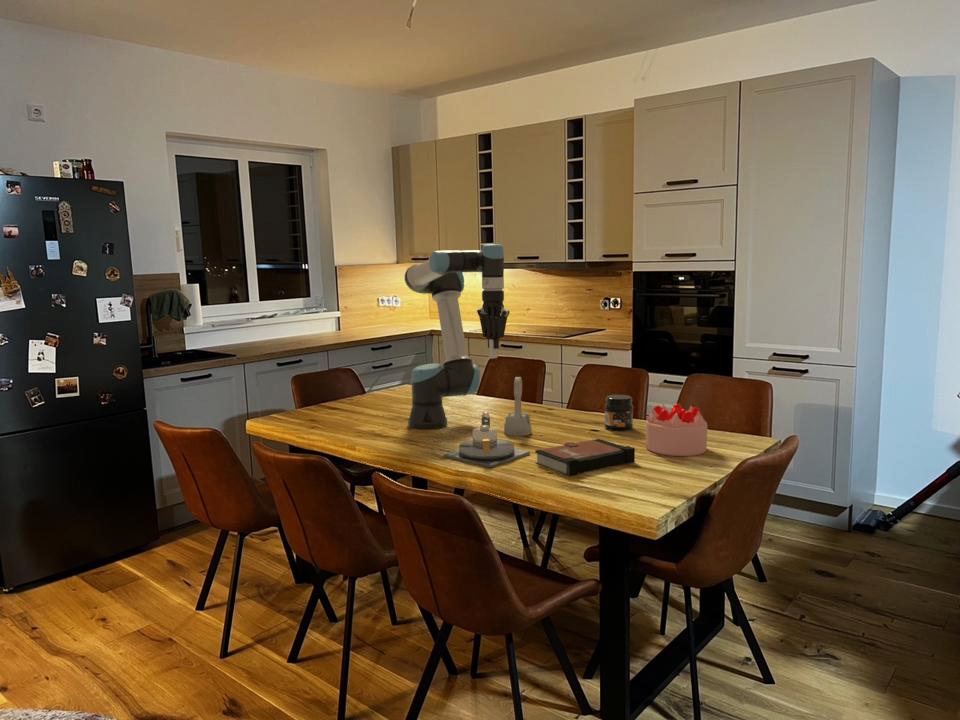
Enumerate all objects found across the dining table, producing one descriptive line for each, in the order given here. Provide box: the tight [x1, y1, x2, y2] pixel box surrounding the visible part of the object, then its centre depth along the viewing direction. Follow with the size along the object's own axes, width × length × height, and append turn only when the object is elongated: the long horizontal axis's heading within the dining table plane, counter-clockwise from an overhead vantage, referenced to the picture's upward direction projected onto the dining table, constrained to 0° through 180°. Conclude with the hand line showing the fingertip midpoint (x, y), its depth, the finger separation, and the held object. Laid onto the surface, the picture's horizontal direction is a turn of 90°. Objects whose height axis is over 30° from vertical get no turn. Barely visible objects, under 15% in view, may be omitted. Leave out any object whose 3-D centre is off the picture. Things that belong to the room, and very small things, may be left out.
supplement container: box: [604, 394, 634, 432], centre depth 272 cm, size 10×10×12 cm
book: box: [534, 438, 636, 477], centre depth 228 cm, size 26×18×5 cm
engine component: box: [503, 376, 532, 436], centre depth 267 cm, size 11×20×10 cm
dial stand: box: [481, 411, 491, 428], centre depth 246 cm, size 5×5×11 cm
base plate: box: [443, 447, 531, 469], centre depth 237 cm, size 20×20×1 cm
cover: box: [472, 424, 498, 449], centre depth 236 cm, size 8×8×6 cm
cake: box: [645, 403, 708, 457], centre depth 242 cm, size 20×20×14 cm
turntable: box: [458, 438, 515, 459], centre depth 236 cm, size 18×18×6 cm
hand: (493, 357), depth 253 cm, fingers closed
